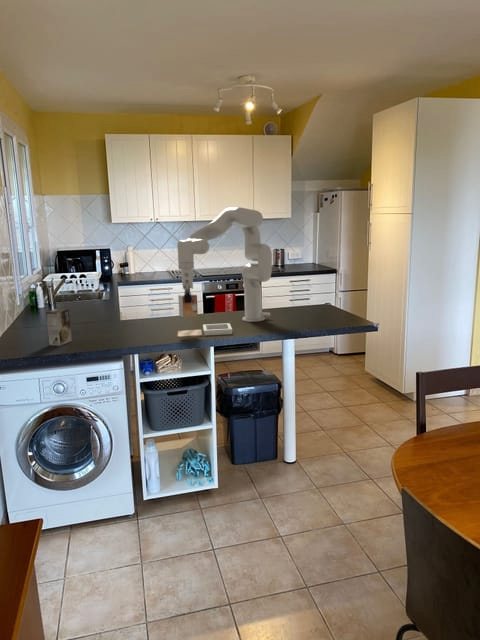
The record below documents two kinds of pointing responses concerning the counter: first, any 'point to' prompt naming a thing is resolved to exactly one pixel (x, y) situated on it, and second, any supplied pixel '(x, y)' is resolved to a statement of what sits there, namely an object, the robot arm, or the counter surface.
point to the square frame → (217, 329)
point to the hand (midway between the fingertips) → (187, 301)
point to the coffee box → (59, 327)
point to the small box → (188, 306)
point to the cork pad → (189, 333)
